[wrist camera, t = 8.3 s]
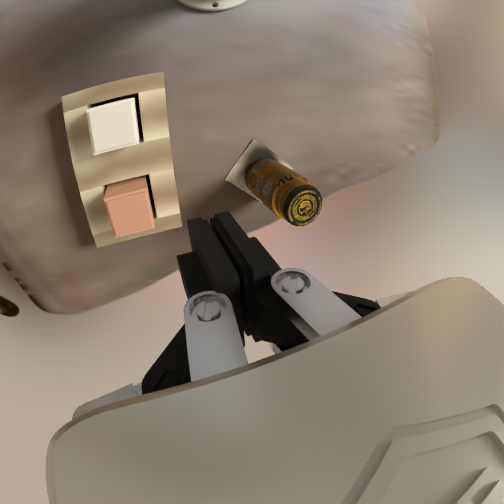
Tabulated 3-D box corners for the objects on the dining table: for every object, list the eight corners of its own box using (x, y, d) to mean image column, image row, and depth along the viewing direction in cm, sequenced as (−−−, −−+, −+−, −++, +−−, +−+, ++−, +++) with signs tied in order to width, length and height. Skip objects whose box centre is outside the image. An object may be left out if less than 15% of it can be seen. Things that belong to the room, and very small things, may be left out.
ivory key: (95, 107, 25) (85, 109, 20) (134, 97, 26) (133, 97, 22) (101, 145, 28) (93, 156, 23) (139, 136, 29) (139, 144, 24)
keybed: (69, 96, 24) (61, 96, 21) (160, 74, 27) (163, 71, 24) (99, 233, 35) (97, 248, 32) (177, 214, 39) (182, 226, 36)
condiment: (265, 204, 44) (305, 241, 34) (224, 178, 39) (257, 212, 29) (292, 168, 42) (339, 195, 33) (253, 138, 37) (297, 157, 28)
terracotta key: (108, 182, 31) (103, 199, 26) (145, 173, 32) (146, 188, 27) (117, 216, 33) (114, 239, 29) (151, 208, 35) (155, 229, 30)
